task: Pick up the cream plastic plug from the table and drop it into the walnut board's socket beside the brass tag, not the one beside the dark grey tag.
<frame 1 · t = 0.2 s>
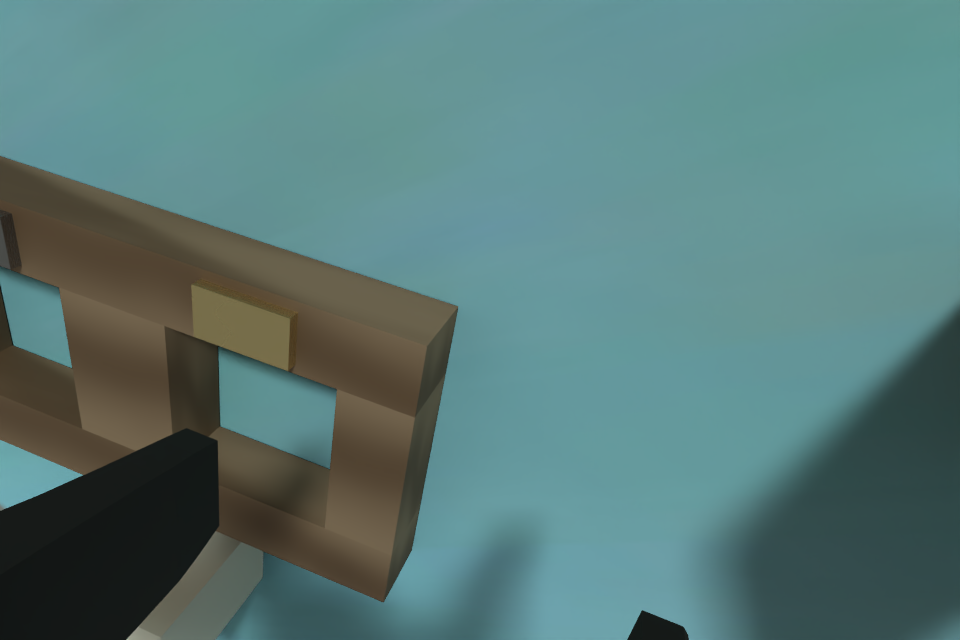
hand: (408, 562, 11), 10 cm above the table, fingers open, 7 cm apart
plug: (223, 530, 29), on the table
brass tag: (248, 322, 19), resting on socket board
socket board: (171, 346, 24), on the table
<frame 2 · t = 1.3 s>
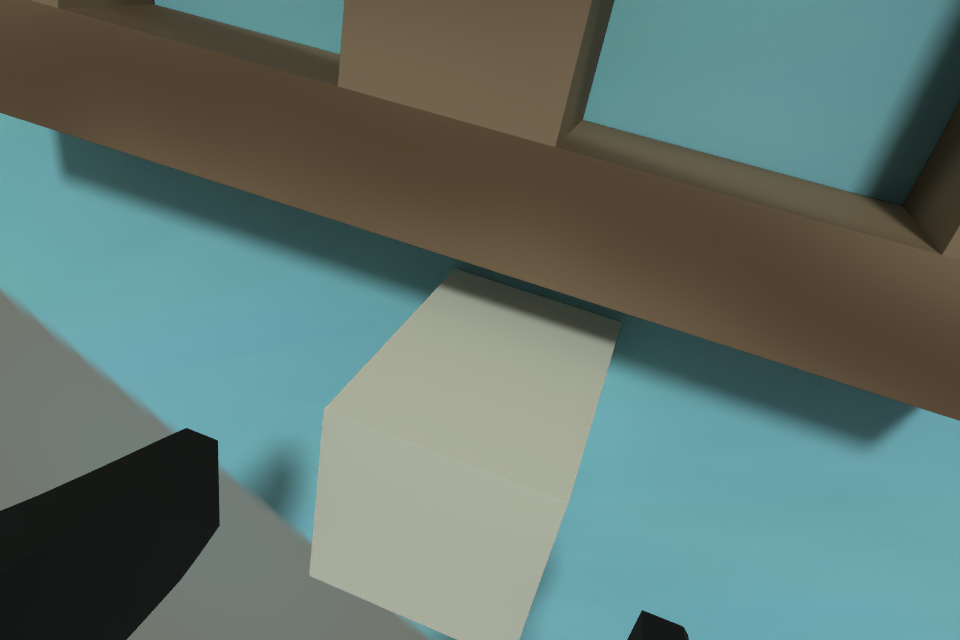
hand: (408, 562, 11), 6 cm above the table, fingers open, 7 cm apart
plug: (517, 365, 16), on the table
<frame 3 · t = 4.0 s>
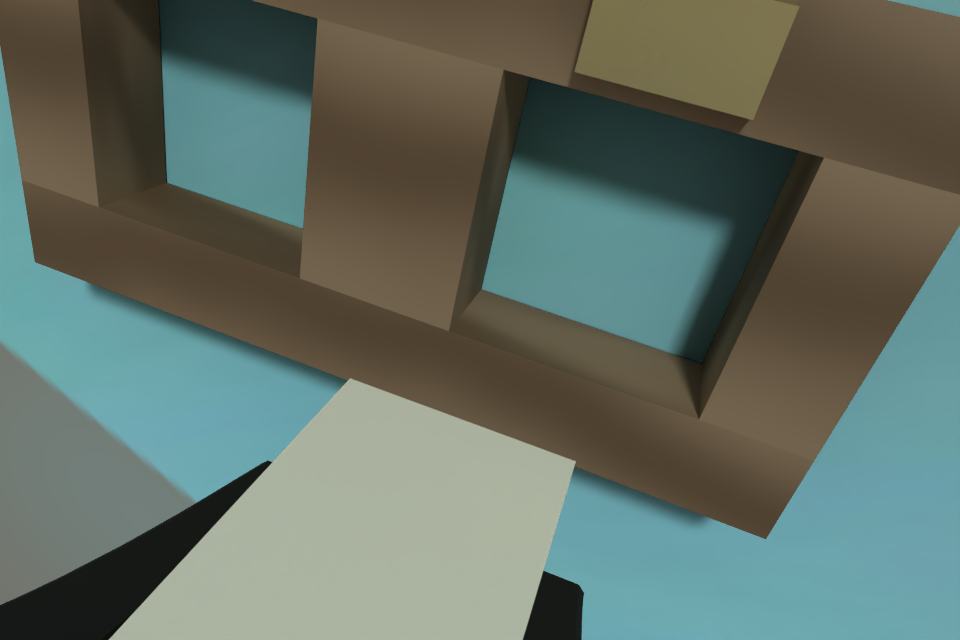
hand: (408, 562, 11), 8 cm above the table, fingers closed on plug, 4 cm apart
plug: (440, 503, 12), point 7 cm above the table, touching gripper
brass tag: (680, 39, 11), resting on socket board
socket board: (430, 161, 17), on the table
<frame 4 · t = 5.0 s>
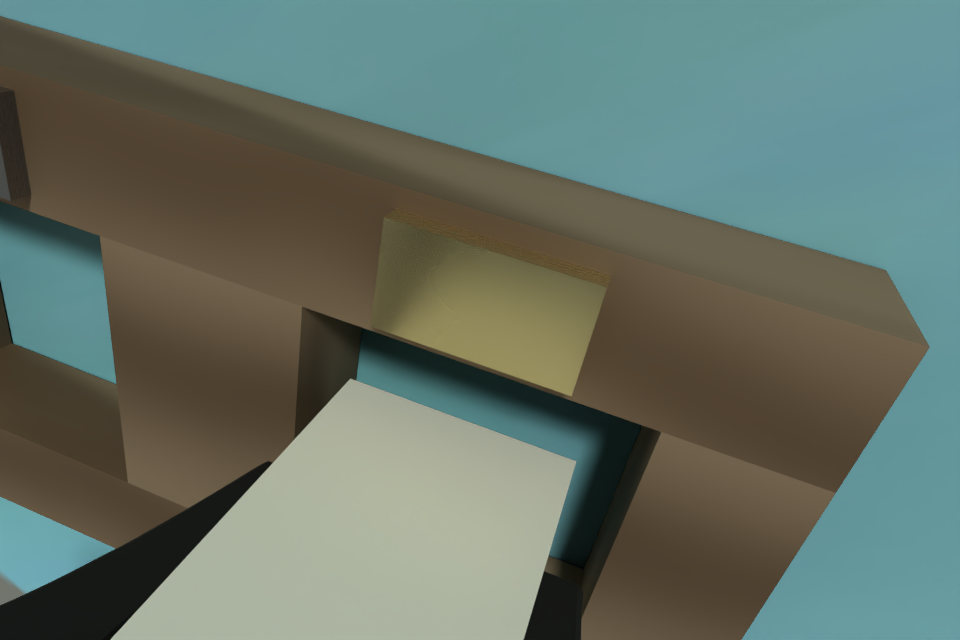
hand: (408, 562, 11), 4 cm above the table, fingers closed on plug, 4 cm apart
plug: (440, 503, 12), point 2 cm above the table, touching gripper
brass tag: (487, 296, 10), resting on socket board
socket board: (276, 346, 15), on the table
when the fingers open (3 cm above the table, at t = 5.5 s): plug drops 2 cm, resting in socket board.
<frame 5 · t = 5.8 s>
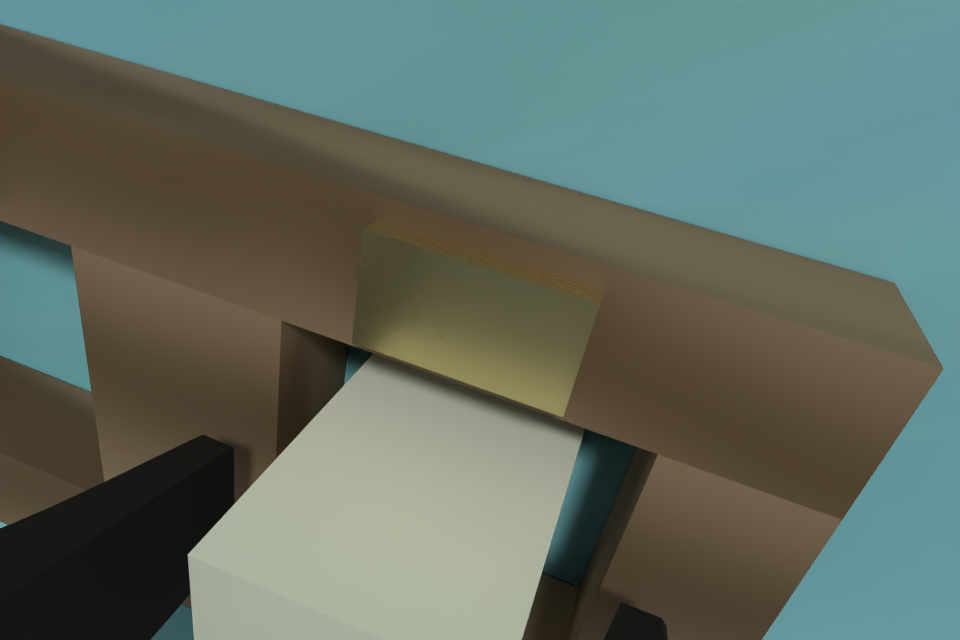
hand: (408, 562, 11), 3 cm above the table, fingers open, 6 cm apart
plug: (475, 439, 14), resting in socket board
brass tag: (474, 312, 9), resting on socket board
socket board: (260, 357, 14), on the table
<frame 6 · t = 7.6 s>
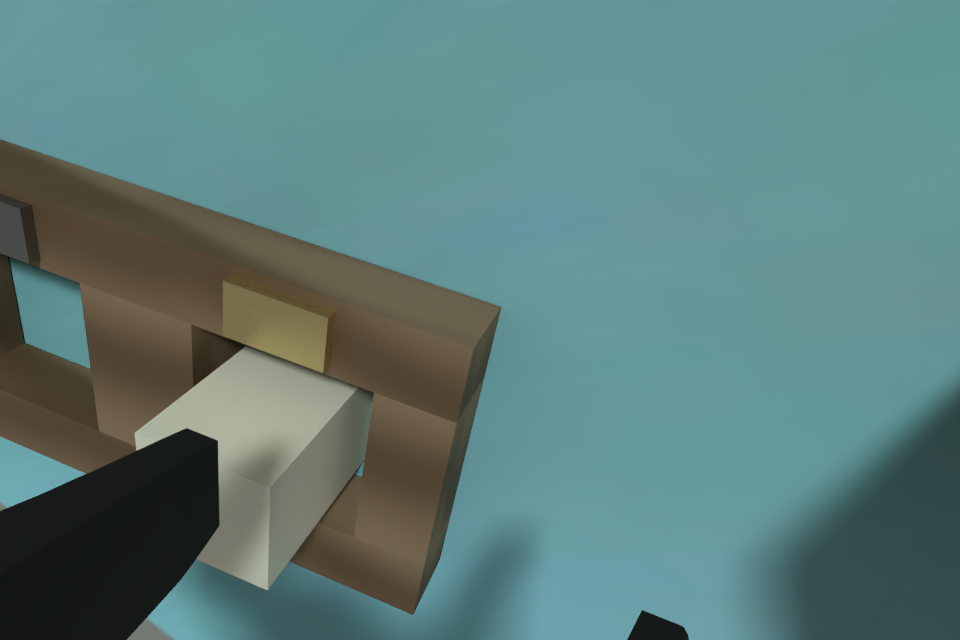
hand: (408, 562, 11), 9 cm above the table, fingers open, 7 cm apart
plug: (318, 394, 23), resting in socket board
brass tag: (281, 321, 18), resting on socket board
socket board: (193, 346, 24), on the table
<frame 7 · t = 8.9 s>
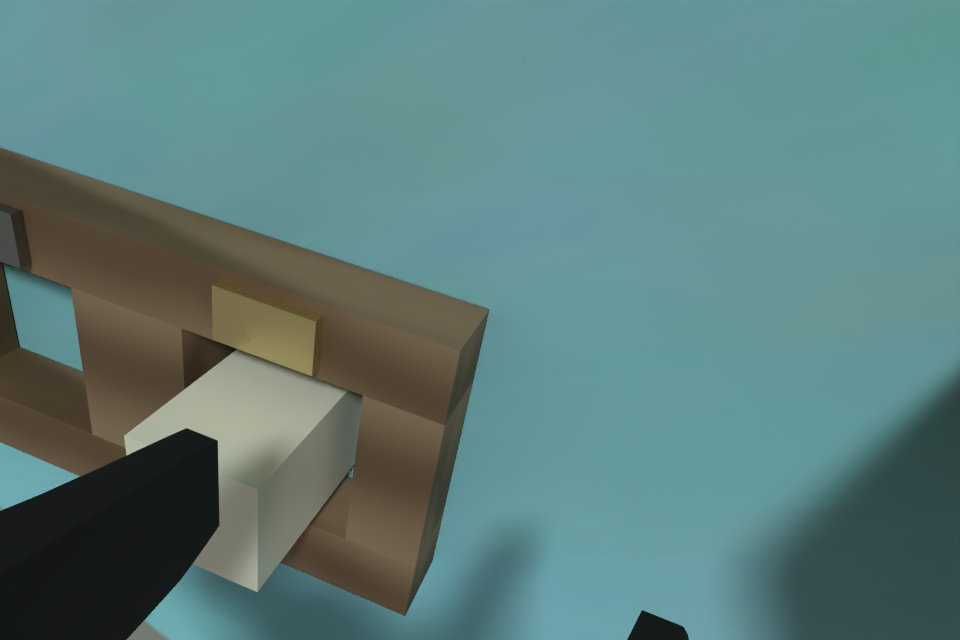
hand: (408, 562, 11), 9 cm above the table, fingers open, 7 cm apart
plug: (310, 397, 23), resting in socket board
brass tag: (270, 324, 18), resting on socket board
socket board: (185, 349, 24), on the table
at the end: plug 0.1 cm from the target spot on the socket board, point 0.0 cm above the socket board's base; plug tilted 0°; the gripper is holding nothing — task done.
